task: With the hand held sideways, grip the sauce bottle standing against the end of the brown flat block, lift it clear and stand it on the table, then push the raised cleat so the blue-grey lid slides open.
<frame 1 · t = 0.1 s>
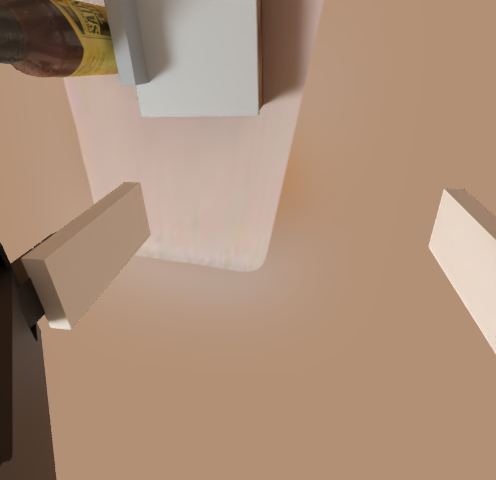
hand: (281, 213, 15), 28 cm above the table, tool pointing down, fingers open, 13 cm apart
sauce bottle: (116, 41, 38), on the table
brown flat block: (203, 38, 37), on the table
lid: (186, 35, 32), point 6 cm above the table, slide at 0.0 cm
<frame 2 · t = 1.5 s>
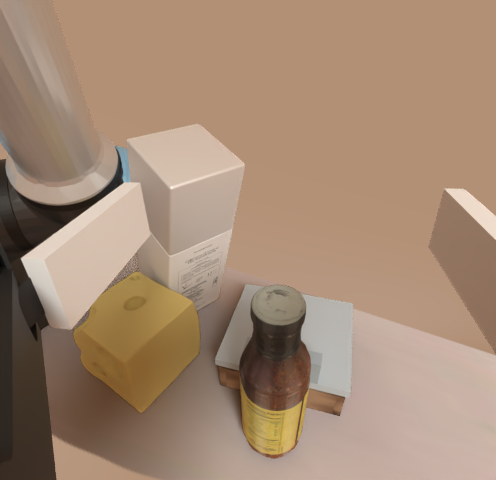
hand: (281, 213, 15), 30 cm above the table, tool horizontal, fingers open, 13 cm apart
cheese: (147, 363, 43), on the table
tall white carton: (179, 291, 52), point 1 cm above the table
sauce bottle: (270, 432, 36), on the table
brown flat block: (287, 353, 44), on the table
lid: (290, 322, 40), point 6 cm above the table, slide at 0.0 cm
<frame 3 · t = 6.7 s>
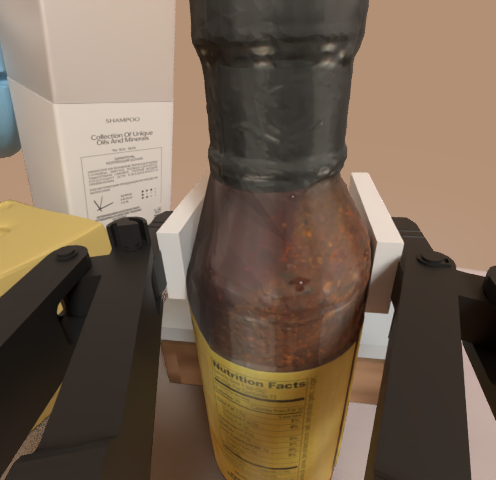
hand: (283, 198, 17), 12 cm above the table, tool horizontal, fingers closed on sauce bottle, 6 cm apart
cheese: (37, 364, 24), on the table
tall white carton: (107, 257, 34), point 1 cm above the table, touching arm
sauce bottle: (272, 457, 18), on the table, touching gripper
brown flat block: (284, 320, 26), on the table
lid: (285, 256, 23), point 6 cm above the table, slide at 0.0 cm
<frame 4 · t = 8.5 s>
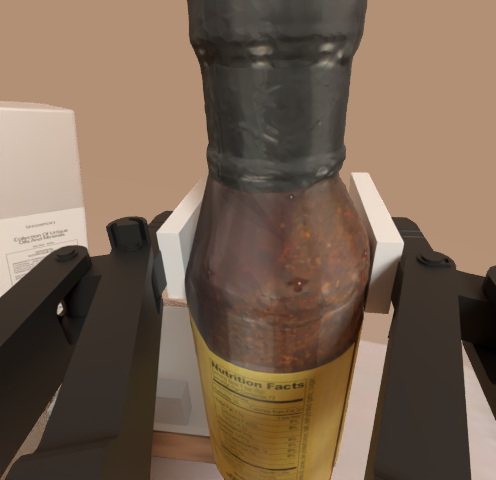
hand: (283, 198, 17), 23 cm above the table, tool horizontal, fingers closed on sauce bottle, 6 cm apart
tall white carton: (45, 326, 41), point 1 cm above the table, touching arm
sauce bottle: (271, 458, 17), point 11 cm above the table, touching gripper
brown flat block: (172, 387, 34), on the table
lid: (163, 345, 31), point 6 cm above the table, slide at 0.0 cm
when the fingers open (12 cm above the table, at t = 10.9 s): sauce bottle stays where it is, on the table.
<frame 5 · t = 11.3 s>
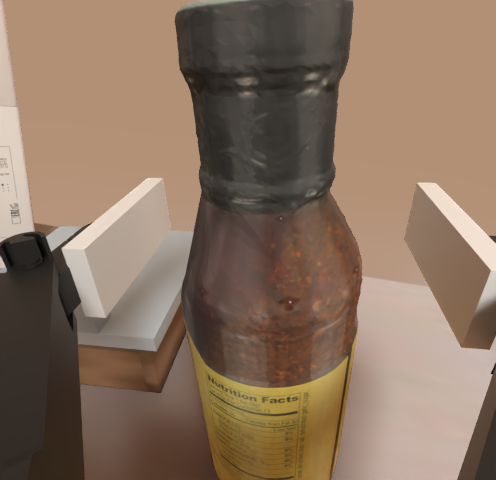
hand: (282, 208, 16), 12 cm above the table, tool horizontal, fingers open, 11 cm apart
sauce bottle: (271, 464, 18), on the table
brown flat block: (109, 315, 28), on the table
lid: (91, 255, 25), point 6 cm above the table, slide at 0.0 cm
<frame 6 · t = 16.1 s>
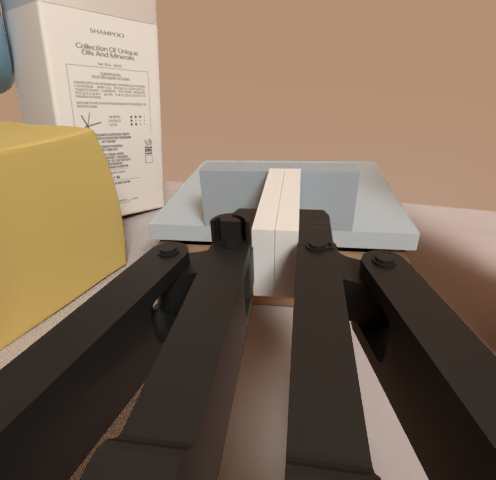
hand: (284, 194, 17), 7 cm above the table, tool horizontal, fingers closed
cheese: (27, 287, 23), on the table
tall white carton: (102, 206, 33), on the table, touching arm
brown flat block: (281, 249, 26), on the table
lid: (282, 171, 23), point 6 cm above the table, slide at 0.7 cm, touching gripper
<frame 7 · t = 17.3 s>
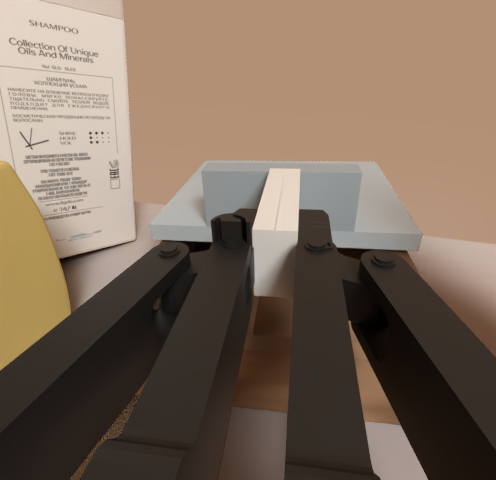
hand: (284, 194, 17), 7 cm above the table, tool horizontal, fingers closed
tall white carton: (60, 238, 27), on the table
brown flat block: (276, 308, 20), on the table
lid: (284, 172, 23), point 6 cm above the table, slide at 7.4 cm, touching gripper
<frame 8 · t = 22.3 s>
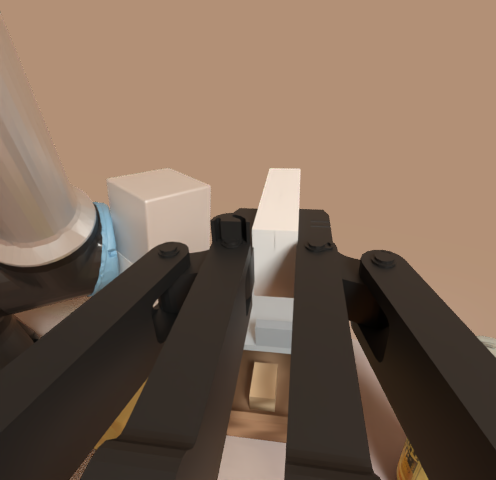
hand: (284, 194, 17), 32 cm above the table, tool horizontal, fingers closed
cheese: (141, 421, 41), on the table
tall white carton: (167, 341, 51), on the table, touching arm
brown flat block: (284, 391, 43), on the table
lid: (288, 308, 48), point 6 cm above the table, slide at 9.3 cm
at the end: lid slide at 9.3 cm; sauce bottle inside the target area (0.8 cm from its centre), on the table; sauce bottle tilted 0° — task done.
